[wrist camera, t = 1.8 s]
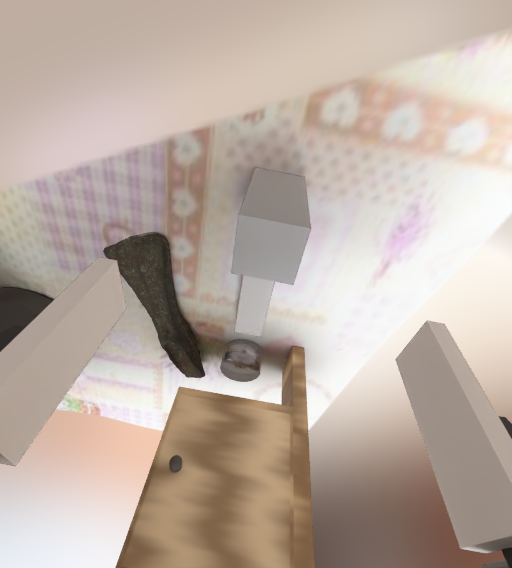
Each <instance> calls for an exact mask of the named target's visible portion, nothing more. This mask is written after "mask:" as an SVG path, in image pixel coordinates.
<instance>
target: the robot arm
mask: <svg viewBox="0 0 512 568" xmlns="http://www.w3.org/2000/svg"><path fill="white" fill-rule="evenodd" d="M125 309H126V303H125V298H124V293H123V288H122V283H121V278H120V273H119V268H118V263H117V260H111V259H106V258H101V257H98V258H97V259H96V260H95V261H94V262H93V263H92V264H91V265H90V266H89V267H88V268H87V269H86V270H85V271H84V272H83V273H82V274H81V275H80V276H78V277H77V278H76V279H75V280H74V281H73V282H72V283H71V284H70V285H69V286H68V287H67V288H66V289H65V290H64V291H63V292H62V293H61V294H60V295H59V296H58V297H57V298H56V299H55V300H54V301H53V300H51V299H49V298H47V297H44V296H42V295H39V294H37V293H34V292H30V291H27V290H23V289H17V288H7V287H4V288H0V463H1V464H6V465H11V466H16V465H17V463H18V462H19V461H20V459H21V458H22V456H23V455H24V453H25V452H26V451H27V449H28V448H29V446H30V445H31V443H32V442H33V441H34V439H35V438H36V436H37V435H38V434H39V432H40V430H41V429H42V428H43V426H44V425H45V424H46V422H47V421H48V419H49V418H50V416H51V415H52V413H53V412H54V411H55V409H56V408H57V406H58V405H59V404H60V402H61V401H62V399H63V398H64V396H65V395H66V394H67V392H68V391H69V389H70V388H71V386H72V385H73V384H74V382H75V381H76V379H77V378H78V376H79V375H80V374H81V372H82V371H83V369H84V368H85V367H86V365H87V364H88V362H89V361H90V360H91V358H92V357H93V355H94V354H95V352H96V351H97V349H98V348H99V346H100V345H101V344H102V342H103V341H104V339H105V338H106V336H107V335H108V334H109V332H110V331H111V329H112V328H113V326H114V325H115V324H116V322H117V321H118V319H119V318H120V316H121V315H122V314H123V312H124V311H125ZM396 362H397V365H398V368H399V371H400V374H401V377H402V380H403V383H404V386H405V389H406V391H407V394H408V397H409V400H410V403H411V406H412V409H413V412H414V415H415V418H416V421H417V423H418V426H419V429H420V432H421V435H422V438H423V441H424V444H425V447H426V450H427V452H428V455H429V458H430V461H431V464H432V467H433V470H434V473H435V476H436V479H437V482H438V485H439V487H440V490H441V493H442V496H443V499H444V502H445V505H446V508H447V511H448V514H449V516H450V519H451V522H452V525H453V528H454V531H455V534H456V537H457V540H458V543H459V546H460V548H461V549H466V550H472V551H477V552H482V553H489V552H494V551H499V550H502V552H503V555H504V557H505V559H506V560H503V561H497V562H491V563H487V564H484V565H483V568H512V424H511V423H510V422H509V421H508V420H507V419H506V418H505V417H500V416H498V415H497V413H496V411H495V410H494V408H493V406H492V404H491V403H490V401H489V400H488V398H487V396H486V394H485V392H484V391H483V389H482V387H481V385H480V384H479V382H478V380H477V379H476V377H475V375H474V373H473V372H472V370H471V368H470V367H469V365H468V363H467V361H466V360H465V358H464V357H463V355H462V353H461V351H460V350H459V348H458V346H457V344H456V343H455V341H454V339H453V338H452V336H451V334H450V333H449V331H448V329H447V327H446V326H445V324H442V323H437V322H432V321H426V322H425V323H424V325H423V326H422V327H421V328H420V330H419V331H418V332H417V333H416V335H415V336H414V337H413V338H412V340H411V341H410V342H409V343H408V344H407V346H406V347H405V348H404V349H403V351H402V352H401V353H400V354H399V356H398V357H397V358H396Z"/></svg>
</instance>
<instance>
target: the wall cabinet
mask: <svg viewBox="0 0 512 568" xmlns="http://www.w3.org/2000/svg"><path fill="white" fill-rule="evenodd" d="M116 568H314V548H313V525H312V503H311V482H310V461H309V440H308V418H307V397H306V376H305V354H304V348H301V347H295V346H292V349H291V352H290V354H289V357H288V359H287V362H286V365H285V367H284V370H283V372H282V405H279V404H274V403H268V402H262V401H257V400H251V399H246V398H240V397H234V396H229V395H223V394H218V393H212V392H206V391H201V390H195V389H190V388H184V387H179V389H178V392H177V394H176V397H175V400H174V403H173V406H172V409H171V411H170V414H169V417H168V420H167V423H166V426H165V429H164V431H163V435H162V437H161V440H160V443H159V446H158V448H157V451H156V454H155V457H154V460H153V463H152V466H151V469H150V471H149V474H148V477H147V480H146V483H145V486H144V489H143V491H142V494H141V497H140V500H139V503H138V506H137V508H136V511H135V514H134V517H133V520H132V522H131V525H130V528H129V531H128V534H127V537H126V540H125V542H124V545H123V548H122V551H121V554H120V557H119V559H118V562H117V565H116Z"/></svg>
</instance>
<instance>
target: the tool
mask: <svg viewBox="0 0 512 568" xmlns="http://www.w3.org/2000/svg"><path fill="white" fill-rule="evenodd" d="M103 251H104V253H105V255H106V257H107V258H108V259H111V260H117V263H118V268H119V273H120V274H121V275H122V276H123V277H124V279H125V280H126V281H127V283H128V284H129V286H130V287H131V288H132V289H133V290H134V292H135V294H136V295H137V297H138V299H139V300H140V301H141V303H142V304H143V306H144V307H145V308H146V310H147V312H148V313H149V315H150V317H151V318H152V321H153V323H154V325H155V327H156V330H157V333H158V338H159V340H160V343H161V346H162V348H163V349H164V350H165V351H166V352H167V354H168V356H169V358H170V360H171V361H172V362H173V363H174V365H175V366H176V367H177V368H178V369H179V370H180V371H181V372H182V373H183V374H185V376H186V377H194V378H201V377H204V376H205V372H204V369H203V366H202V363H201V359H200V352H199V350H198V348H197V344H196V342H195V338H194V335H193V333H192V331H191V329H190V327H189V326H188V324H187V323H186V322H184V321H183V319H182V318H181V317H180V314H179V312H178V309H177V306H176V303H175V296H174V288H173V281H172V272H171V265H170V264H171V259H170V249H169V243H168V241H167V240H166V239H164V237H163V236H160V235H158V234H157V233H155V232H152V233H145V234H141V235H136V236H131V237H129V238H127V239H125V240H122V241H120V242H118V243H117V244H115V245H111V246H109V247H106V248H104V250H103Z"/></svg>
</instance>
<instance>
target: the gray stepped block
mask: <svg viewBox="0 0 512 568" xmlns="http://www.w3.org/2000/svg"><path fill="white" fill-rule="evenodd" d="M310 230H311V224H310V216H309V208H308V200H307V191H306V183H305V177H302V176H297V175H292V174H287V173H282V172H277V171H272V170H267V169H261V168H255V170H254V173H253V176H252V179H251V181H250V184H249V187H248V190H247V192H246V195H245V198H244V201H243V203H242V206H241V209H240V212H239V214H238V222H237V230H236V238H235V247H234V255H233V263H232V271H231V273H233V274H238V275H243V280H242V287H241V293H240V299H239V305H238V312H237V318H236V324H235V330H234V332H237V333H243V334H248V335H254V336H259V337H261V334H262V330H263V326H264V322H265V318H266V314H267V310H268V306H269V302H270V299H271V295H272V291H273V287H274V283H275V281H276V282H281V283H286V284H292V285H293V284H294V281H295V278H296V275H297V271H298V268H299V265H300V262H301V259H302V256H303V252H304V249H305V246H306V243H307V240H308V236H309V233H310Z"/></svg>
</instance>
